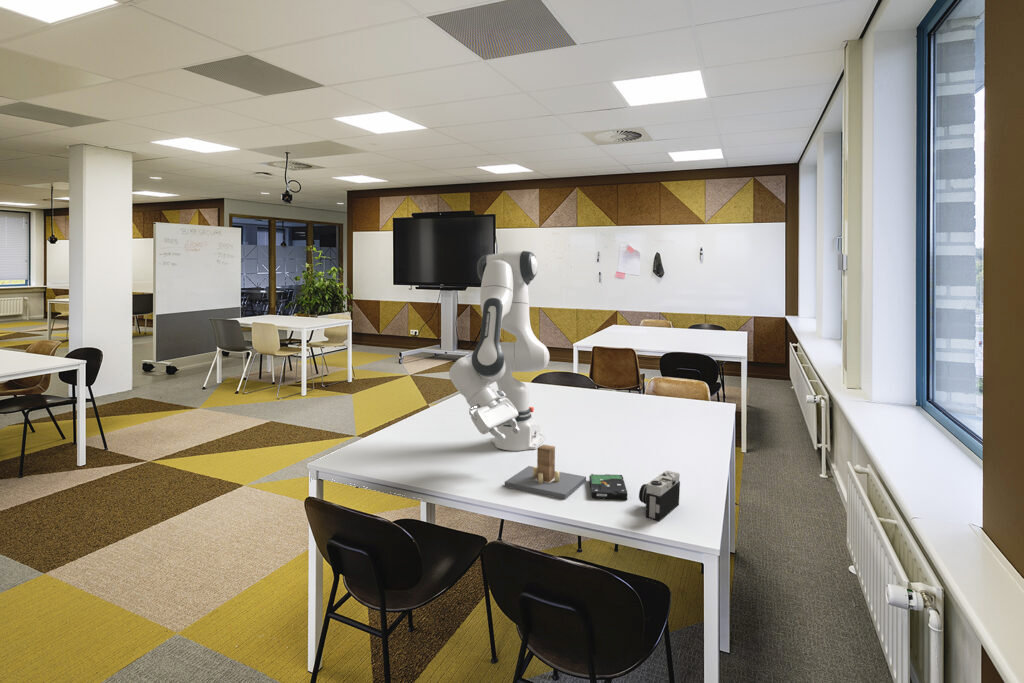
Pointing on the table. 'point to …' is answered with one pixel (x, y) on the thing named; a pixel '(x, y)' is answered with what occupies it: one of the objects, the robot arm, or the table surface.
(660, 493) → the camera
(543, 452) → the walnut block
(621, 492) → the disk drive
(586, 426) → the table surface
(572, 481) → the standoff plate
